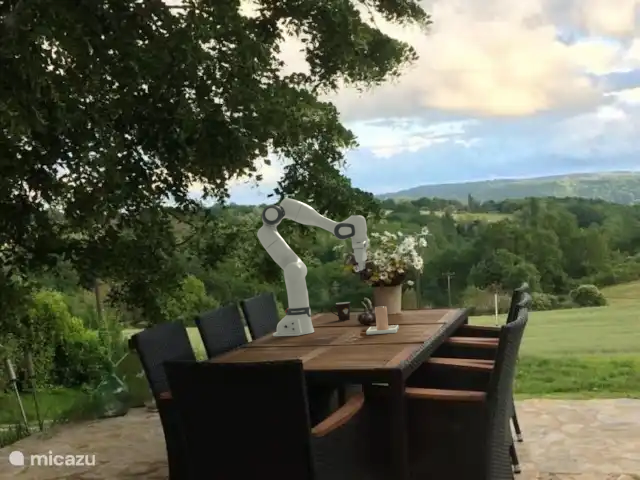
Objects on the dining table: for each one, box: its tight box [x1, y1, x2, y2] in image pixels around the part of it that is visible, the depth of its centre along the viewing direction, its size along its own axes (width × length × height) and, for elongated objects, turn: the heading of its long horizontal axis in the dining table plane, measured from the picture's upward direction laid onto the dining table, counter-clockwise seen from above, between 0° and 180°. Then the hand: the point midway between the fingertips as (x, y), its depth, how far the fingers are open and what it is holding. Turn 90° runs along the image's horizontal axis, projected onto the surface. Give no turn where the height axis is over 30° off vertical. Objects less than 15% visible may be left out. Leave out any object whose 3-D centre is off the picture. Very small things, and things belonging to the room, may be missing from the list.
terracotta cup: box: [374, 305, 389, 330], centre depth 401 cm, size 6×6×12 cm
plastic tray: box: [365, 324, 400, 336], centre depth 401 cm, size 15×15×2 cm
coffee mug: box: [330, 301, 351, 322], centre depth 465 cm, size 12×9×10 cm
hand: (362, 269), depth 426 cm, fingers open, 8 cm apart
